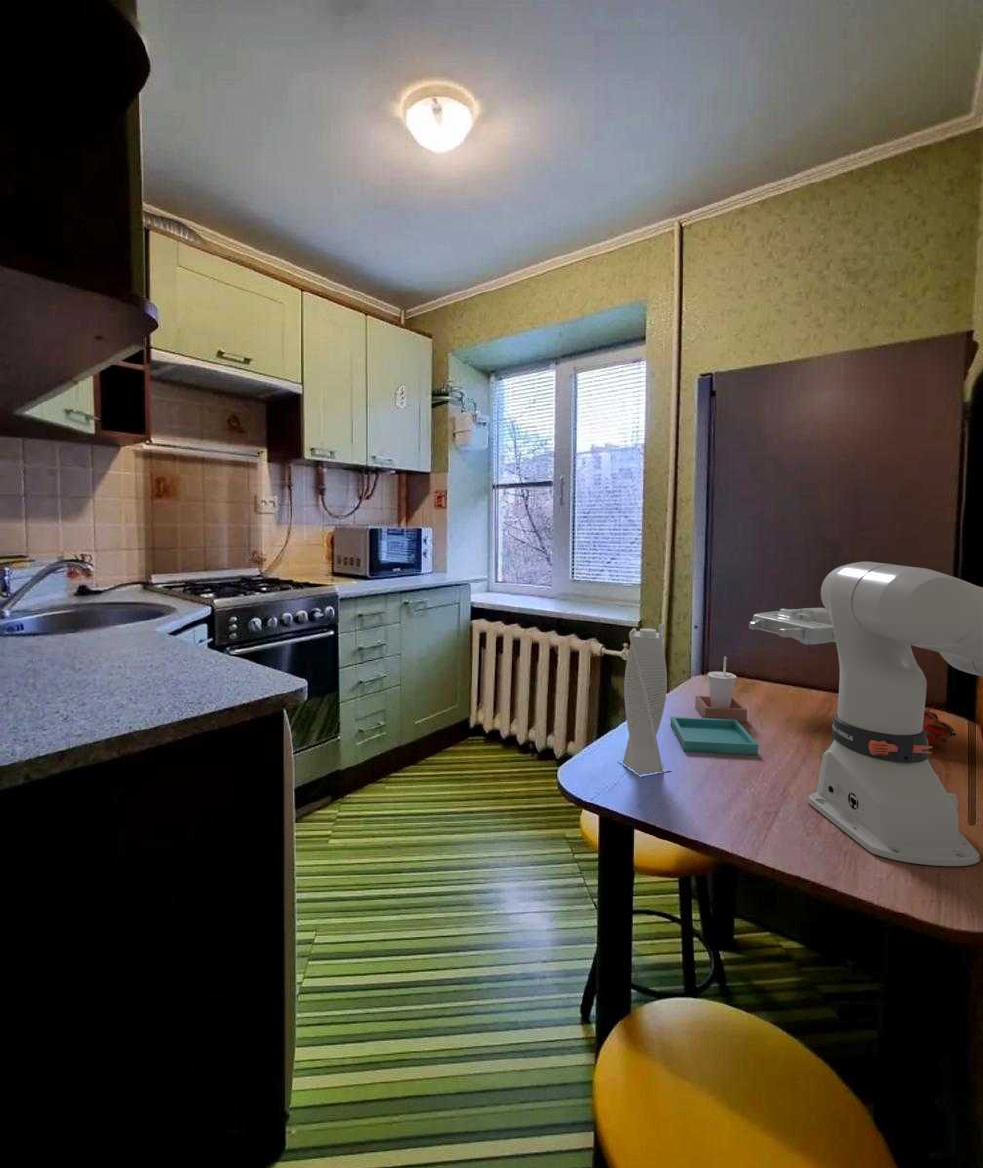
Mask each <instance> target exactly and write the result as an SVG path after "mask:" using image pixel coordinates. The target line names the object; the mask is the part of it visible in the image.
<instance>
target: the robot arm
mask: <svg viewBox="0 0 983 1168" xmlns="http://www.w3.org/2000/svg"><path fill="white" fill-rule="evenodd" d="M820 599H821V603H822V605H823V606H824V607H810V608H807V607H806V608H798V609H797V608H780V609H779V610H776V611H775V610H774V611H767V612H759V613H756V614H753V616H752V621H749V623H748V628H749V629H750V630H760V631H764V632H767V633H772V634H775V635H779V637H782V638H793V639H794V640H797V641H799V642H800V643H801V644H804V645H819V644H826V643H827V644H828V643H832V642H833V643H835V645H836V650H837V655H838V664H839V665H838V666H839V685H838V699H837V713H835V714H834V717H833V721H832V738H833V741H832V743H831V745H830V746H829V748H827V750H826V751H825V752H824V753H823V754H822V758H821V764H820V769H819V777H818V781H817V786H816V792H812V793H811V794H808V799H807V803H808V804H809V805H810V806H811V807H813V808H814V809H815V810H817V812H819V813H820V814H821V815H823V816H824V817H825V818H827V819H828V820H829V821H830V822H831V823H833V824H834V825H835V826H837V828H839V829H840V830H841V831H842V832H844V833H845V834H847V835H848V836H849V837H851V838H852V839H853V840H854V841H855V842H857V843H858V844H860V846H862V847H863V848H864V849H866V851H868V852H869V853H871V854H873V855H876V856H880V857H882V858H886V859H889V860H894V861H899V862H903V863H911V864H916V865H925V866H941V867H966V866H971V865H975V864H978V863H979V862H980V860H981V859H980V857H981V856H980V853H979V852H978V851H977V849H976V848H975V847H974V846H973V845H972V844H971V843H970V842H969V840H967V838H966V837H965V836H964V835H963V834H962V832H960V831H959V815H958V809H959V804H960V803H959V800H958V796H957V795H956V794H955V793H951V792H947V790H946V788H945V786H944V785H943V784H942V782H941V780H940V778H939V775H938V774H937V773H936V772H935V770H934V769H933V766H932V765H931V763H930V760H929V758H930V754H932V751H929V749H933V748H932V746H928V745H930V743H929V744H928V739H927V737H926V732H925V730H924V728H923V720H924V710H926V708H925V706H926V699H927V696H926V695H927V687H928V684H927V679H926V676H925V674H924V672H923V670H922V668H921V667H920V666H919V665H918V663H917V659H915V656H914V652H913V651H912V650H913V649H912V647H911V646H913V647H916V648H920V649H924V650H928V651H932V652H936V653H939V654H940V656H941V657H942V658H943V660H944V661H946V662H947V664H949V666H951V667H952V668H954V669H957V670H958V671H961V672H964V673H968V674H971V675H974V676H975V675H976V676H979V677H983V587H982V586H978V585H976V584H973V583H971V582H968V581H966V580H963V579H961V578H958V577H955V576H952V575H949V574H946V573H944V572H943V573H942V572H940V571H936V570H934V569H933V570H932V569H929V568H925V567H915V566H907V565H901V564H900V565H899V564H891V563H886V562H885V563H884V562H877V561H875V562H874V561H858V562H852V563H847V564H844V565H840V566H838V567H836V568H834V569H833V570H831V572H829V573H828V574H827V575H826V576H825V578H824V579H823V581H822V585H821V588H820Z"/></svg>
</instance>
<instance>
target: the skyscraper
mask: <svg viewBox="0 0 983 1168" xmlns="http://www.w3.org/2000/svg"><path fill="white" fill-rule="evenodd" d="M665 634H666V629H665V624H664V623H662V622H660V624H659V626H658V632H657V630H656V629H654V628H649V627H648V628H640V629H639V630H638V631H637V629H636V628H635V627H633V628H632V629H631V630H630V631H629V633H628V638H629V640H630V645H629V647H628V648H629V649H628V652H627V653H628V654H627V659H626V665H625V672H624V682H623V683H624V684H623V686H624V688H623V690H624V692H623V696H624V707H625V709H624V710H625V717H626V719H625V720H626V725H627V729H628V730H627V731H628V735H629V736H628V740H627V743H626V747H625V748H626V749H625V752H624V757H623V759H622V760H623V764H625V765H626V766H627V767H630V768H631V769H633V770H634V771H635V772H636V773H638V775H642V774H650V773H655V772H663V767H664V766H665V765H663V764H662V759H661V753H660V748H659V743H658V739H657V735H658V731H659V729H660V726H661V722H662V719H663V714H664V711H665V706H666V699H667V690H668V676H667V675H668V674H667V663H666V657H665V651H664V650H665V649H664V644H663V639H664V637H665ZM662 765H663V767H662Z"/></svg>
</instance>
